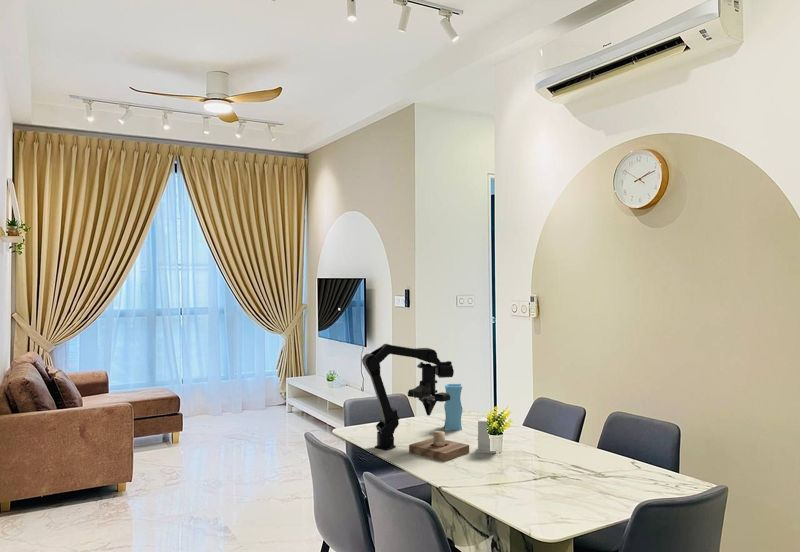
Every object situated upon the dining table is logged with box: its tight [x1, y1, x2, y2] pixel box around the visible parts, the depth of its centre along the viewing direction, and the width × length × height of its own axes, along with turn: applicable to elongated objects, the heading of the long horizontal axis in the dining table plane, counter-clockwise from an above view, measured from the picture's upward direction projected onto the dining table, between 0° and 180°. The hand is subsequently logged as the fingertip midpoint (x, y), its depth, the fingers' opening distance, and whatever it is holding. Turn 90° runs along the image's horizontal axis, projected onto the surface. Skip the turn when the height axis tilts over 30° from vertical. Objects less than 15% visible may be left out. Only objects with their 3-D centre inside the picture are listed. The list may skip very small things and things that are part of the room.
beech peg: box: [432, 430, 446, 448], centre depth 242 cm, size 5×5×8 cm
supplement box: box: [477, 417, 497, 454], centre depth 245 cm, size 7×7×13 cm
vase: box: [443, 383, 463, 431], centre depth 283 cm, size 8×8×20 cm
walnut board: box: [408, 437, 470, 462], centre depth 242 cm, size 18×16×3 cm
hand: (428, 415), depth 255 cm, fingers closed
